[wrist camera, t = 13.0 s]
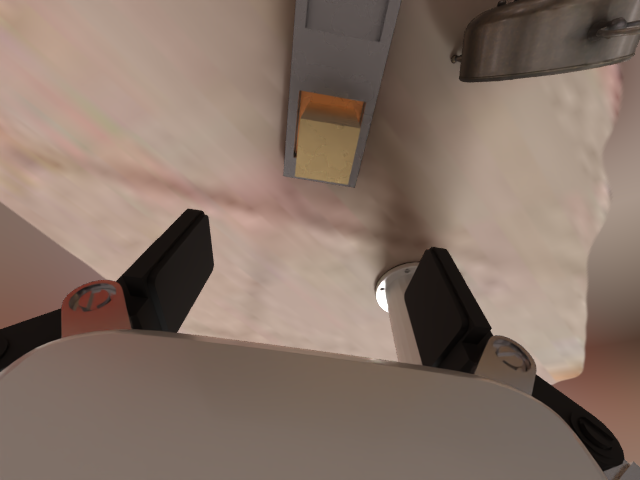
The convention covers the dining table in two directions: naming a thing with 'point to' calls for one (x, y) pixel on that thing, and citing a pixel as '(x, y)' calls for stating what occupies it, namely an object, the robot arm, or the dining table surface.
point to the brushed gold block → (327, 143)
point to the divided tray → (338, 64)
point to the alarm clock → (548, 38)
